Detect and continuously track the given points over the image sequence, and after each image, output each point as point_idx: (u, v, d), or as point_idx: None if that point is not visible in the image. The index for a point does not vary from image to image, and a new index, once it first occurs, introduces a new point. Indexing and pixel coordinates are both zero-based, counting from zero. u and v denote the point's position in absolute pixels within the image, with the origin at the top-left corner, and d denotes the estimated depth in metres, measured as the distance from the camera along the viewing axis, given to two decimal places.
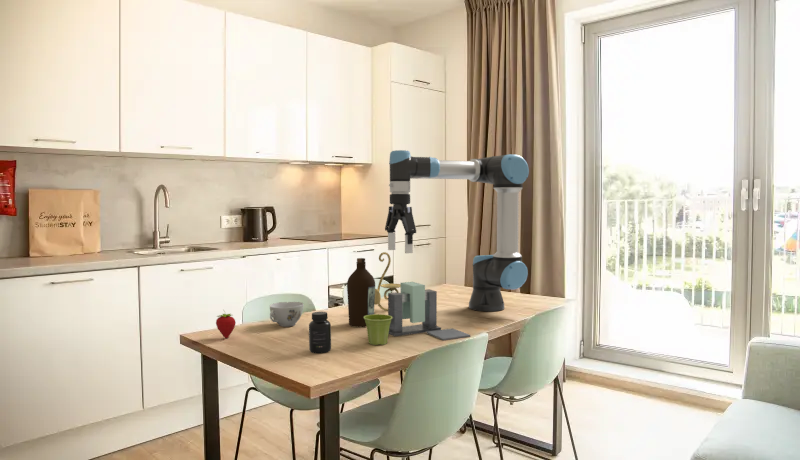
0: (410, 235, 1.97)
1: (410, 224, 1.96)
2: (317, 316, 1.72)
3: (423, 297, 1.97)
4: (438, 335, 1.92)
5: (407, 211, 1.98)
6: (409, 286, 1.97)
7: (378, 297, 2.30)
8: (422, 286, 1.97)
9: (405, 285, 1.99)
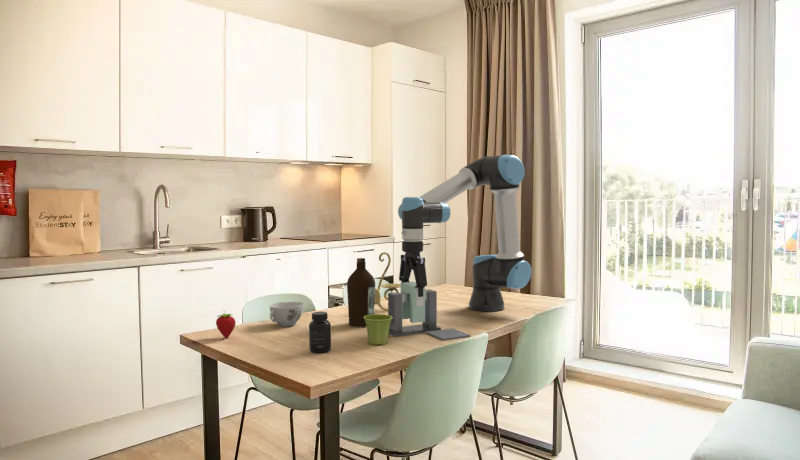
0: (421, 288, 1.94)
1: (422, 277, 1.93)
2: (317, 316, 1.72)
3: (423, 297, 1.97)
4: (438, 335, 1.92)
5: (420, 263, 1.93)
6: (409, 286, 1.97)
7: (378, 297, 2.30)
8: None
9: (405, 285, 1.99)
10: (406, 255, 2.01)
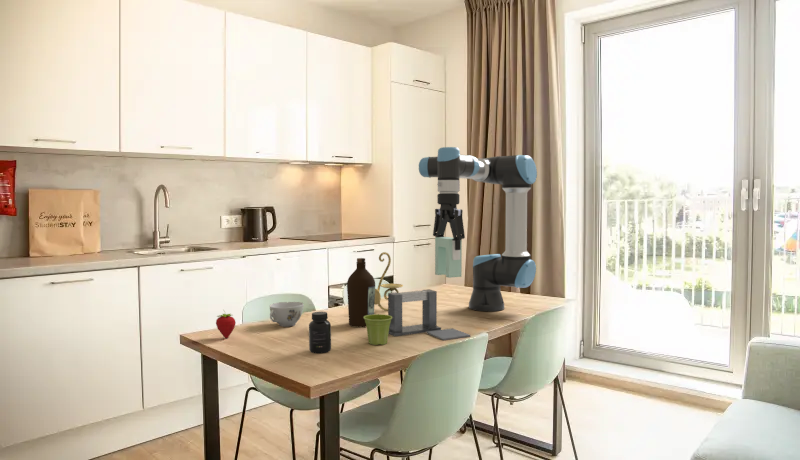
0: (458, 241, 1.87)
1: (459, 229, 1.86)
2: (317, 316, 1.72)
3: (460, 251, 1.90)
4: (438, 335, 1.92)
5: (457, 214, 1.86)
6: (445, 239, 1.90)
7: (378, 297, 2.30)
8: None
9: (441, 239, 1.92)
10: (441, 208, 1.94)
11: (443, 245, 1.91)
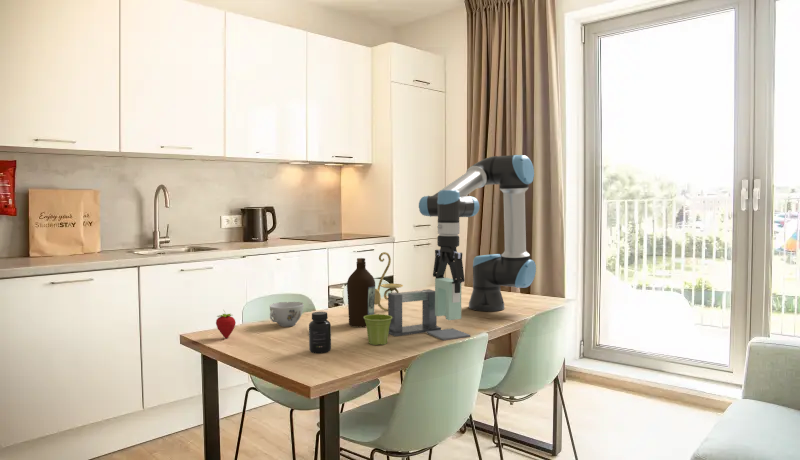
0: (458, 284, 1.88)
1: (459, 273, 1.86)
2: (317, 316, 1.72)
3: None
4: (438, 335, 1.92)
5: (457, 258, 1.87)
6: (445, 282, 1.90)
7: (378, 297, 2.30)
8: None
9: (440, 281, 1.93)
10: (441, 250, 1.95)
11: (443, 287, 1.92)
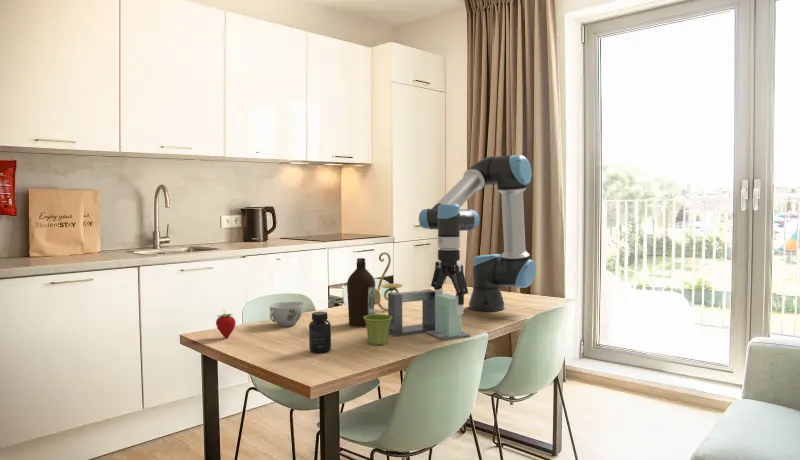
0: (461, 295, 1.86)
1: (462, 285, 1.85)
2: (317, 316, 1.72)
3: None
4: (438, 335, 1.92)
5: (458, 270, 1.87)
6: (445, 299, 1.91)
7: (378, 297, 2.30)
8: None
9: (441, 297, 1.93)
10: (442, 264, 1.95)
11: (443, 304, 1.92)
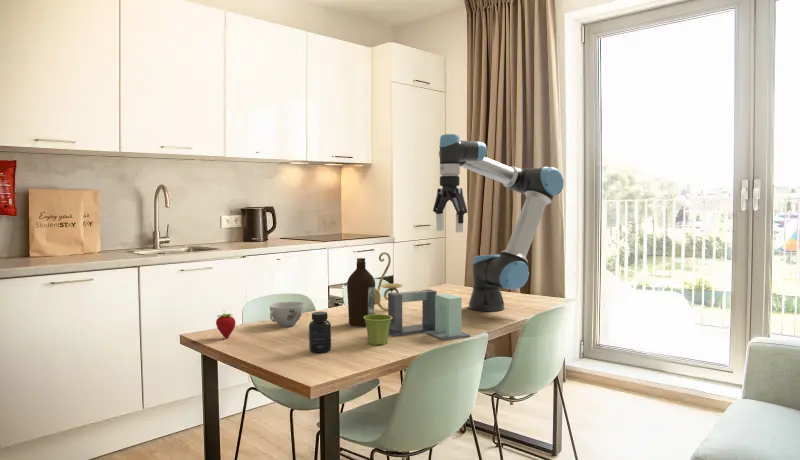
0: (461, 215, 2.06)
1: (461, 205, 2.05)
2: (317, 316, 1.72)
3: (460, 310, 1.91)
4: (438, 335, 1.92)
5: (458, 192, 2.07)
6: (445, 299, 1.91)
7: (378, 297, 2.30)
8: (459, 299, 1.91)
9: (441, 297, 1.93)
10: (443, 190, 2.15)
11: (443, 304, 1.92)
